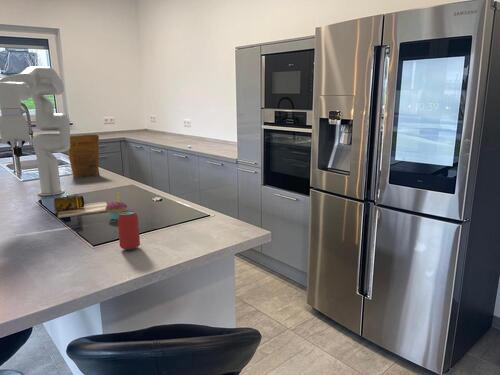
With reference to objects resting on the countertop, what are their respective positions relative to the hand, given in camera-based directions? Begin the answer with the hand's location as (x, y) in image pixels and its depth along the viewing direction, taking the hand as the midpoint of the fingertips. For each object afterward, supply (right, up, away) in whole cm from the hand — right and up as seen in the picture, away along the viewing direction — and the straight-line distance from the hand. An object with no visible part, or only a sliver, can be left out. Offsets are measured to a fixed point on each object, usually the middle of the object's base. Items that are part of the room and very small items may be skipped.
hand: (18, 156), depth 163 cm
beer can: (+58, -33, -33) cm, 75 cm away
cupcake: (+43, -26, -1) cm, 50 cm away
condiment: (+12, -20, +5) cm, 24 cm away
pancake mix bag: (-6, -8, +83) cm, 84 cm away
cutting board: (+23, -24, +11) cm, 35 cm away
